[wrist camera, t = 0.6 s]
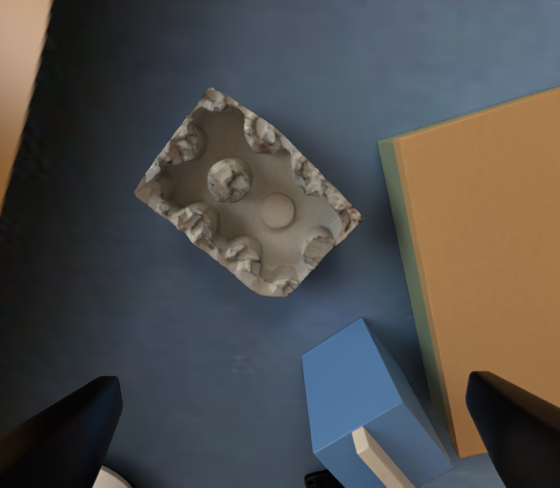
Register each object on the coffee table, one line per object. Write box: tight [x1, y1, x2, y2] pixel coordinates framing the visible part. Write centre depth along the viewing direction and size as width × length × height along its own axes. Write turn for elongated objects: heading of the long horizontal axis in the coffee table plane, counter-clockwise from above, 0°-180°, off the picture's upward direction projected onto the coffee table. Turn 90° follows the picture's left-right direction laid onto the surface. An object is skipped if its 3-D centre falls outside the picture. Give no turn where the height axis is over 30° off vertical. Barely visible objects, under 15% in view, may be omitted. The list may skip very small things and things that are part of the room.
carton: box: [302, 317, 454, 488], centre depth 20 cm, size 5×5×9 cm
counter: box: [377, 86, 560, 458], centre depth 20 cm, size 20×10×4 cm, turn 17°
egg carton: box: [134, 87, 363, 297], centre depth 19 cm, size 11×8×4 cm
